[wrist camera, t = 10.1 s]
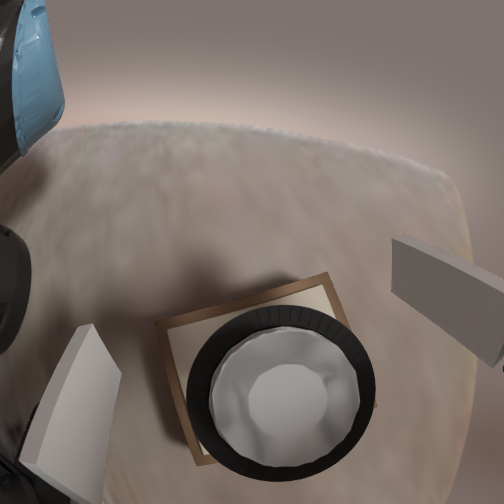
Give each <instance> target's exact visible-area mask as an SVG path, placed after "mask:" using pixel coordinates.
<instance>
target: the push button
mask: <svg viewBox="0 0 504 504" xmlns="http://www.w3.org/2000/svg"><path fill="white" fill-rule="evenodd" d="M375 391H376V387H375V377H374V372H373V368H372V364H371V361H370V359H369V357H368V354H367V352H366V351H365V349H364V347H363V345H362V344H361V343H360V341H359V340H358V338H357V337H356V336H355V335H354V334H353V333H352V332H351V331H350V330H349V329H348V328H347V327H346V326H345V325H343V324H342V323H341V322H339V321H338V320H336V319H335V318H333V317H331V316H329V315H328V314H325V313H323V312H321V311H318V310H315V309H312V308H308V307H303V306H297V305H271V306H266V307H261V308H257V309H254V310H250V311H248V312H245V313H243V314H241V315H239V316H237V317H235V318H233V319H231V320H230V321H228V322H227V323H225V324H224V325H223V326H221V327H220V328H219V329H218V330H216V331H215V332H214V333H213V334H212V335H211V336H210V337H209V339H208V340H207V341H206V342H205V343H204V345H203V346H202V348H201V349H200V351H199V352H198V354H197V356H196V358H195V360H194V362H193V364H192V367H191V370H190V373H189V377H188V381H187V388H186V405H187V412H188V416H189V420H190V423H191V426H192V428H193V430H194V432H195V435H196V437H197V438H198V440H199V441H200V443H201V444H202V446H203V447H204V448H205V449H206V451H207V452H208V453H209V454H210V455H211V456H212V457H213V458H214V459H215V460H217V461H218V462H219V463H221V464H222V465H223V466H225V467H227V468H228V469H230V470H232V471H234V472H236V473H238V474H240V475H243V476H246V477H249V478H252V479H256V480H262V481H270V482H284V481H293V480H299V479H303V478H306V477H310V476H313V475H315V474H318V473H320V472H322V471H324V470H326V469H328V468H330V467H331V466H333V465H334V464H336V463H337V462H338V461H340V460H341V459H342V458H343V457H345V456H346V455H347V454H348V453H349V452H350V451H351V450H352V449H353V447H354V446H355V445H356V444H357V443H358V441H359V440H360V438H361V437H362V435H363V434H364V432H365V430H366V428H367V426H368V424H369V421H370V419H371V416H372V412H373V408H374V403H375Z"/></svg>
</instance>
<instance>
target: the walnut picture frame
mask: <svg viewBox="0 0 504 504" xmlns="http://www.w3.org/2000/svg"><path fill="white" fill-rule="evenodd" d="M271 305H297V306H303V307H308V308H312V309H315V310H318V311H321V312H323V313H325V314H328V315H329V316H331V317H333V318H335V319H336V320H338V321H339V322H341V323H342V324H343V325H345V326H346V327H347V328H348V329H349V330H350V331H351V329H350V326H349V323H348V321H347V318H346V316H345V313H344V311H343V308H342V306H341V303H340V301H339V298H338V296H337V293H336V291H335V288H334V286H333V284H332V281H331V279H330V276H329V274H328V272H324V273H321V274H318V275H315V276H312V277H309V278H306V279H303V280H300V281H296V282H293V283H290V284H287V285H283V286H280V287H277V288H274V289H270V290H267V291H264V292H260V293H257V294H254V295H250V296H247V297H243V298H240V299H236V300H233V301H229V302H226V303H222V304H218V305H215V306H211V307H207V308H204V309H200V310H196V311H193V312H189V313H185V314H181V315H177V316H173V317H169V318H165V319H161V320H157V321H154V322H155V327H156V332H157V337H158V341H159V346H160V350H161V354H162V358H163V363H164V367H165V370H166V374H167V378H168V382H169V385H170V389H171V393H172V396H173V399H174V403H175V406H176V409H177V413H178V416H179V419H180V422H181V425H182V428H183V431H184V434H185V437H186V440H187V442H188V445H189V448H190V451H191V453H192V456H193V459H194V461H195V464H196V466H201V465H208V464H213V463H219V462H218V461H217V460H215V459H214V458H213V457H212V456H211V455H210V454H209V453H208V452H207V451H206V449H205V448H204V447H203V446H202V444H201V443H200V441H199V440H198V438H197V437H196V435H195V432H194V430H193V428H192V426H191V423H190V420H189V416H188V412H187V405H186V388H187V381H188V377H189V373H190V370H191V367H192V364H193V362H194V360H195V358H196V356H197V354H198V352H199V351H200V349H201V348H202V346H203V345H204V343H205V342H206V341H207V340H208V339H209V337H210V336H211V335H212V334H213V333H214V332H215V331H216V330H218V329H219V328H220V327H221V326H223V325H224V324H225V323H227V322H228V321H230V320H231V319H233V318H235V317H237V316H239V315H241V314H243V313H245V312H248V311H250V310H254V309H257V308H261V307H266V306H271ZM351 332H352V331H351ZM376 407H378V406H377V403H376V400H375V403H374V408H376ZM374 408H373V409H374Z"/></svg>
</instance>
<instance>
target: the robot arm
mask: <svg viewBox="0 0 504 504" xmlns="http://www.w3.org/2000/svg"><path fill="white" fill-rule="evenodd" d="M64 107H65V99H64V94H63V89H62V85H61V80H60V76H59V71H58V67H57V62H56V57H55V53H54V47H53V43H52V38H51V32H50V26H49V21H48V17H47V10H46V1H45V0H0V175H1V174H2V173H3V172H4V171H5V170H6V169H7V168H8V167H9V166H11V165H12V164H13V163H14V162H15V161H16V160H17V159H18V158H20V157H21V156H22V157H23V156H25V155H26V153H27V152H28V149H29V148H30V147H31V146H32V145H33V144H34V143H35V142H37V141H38V140H39V139H40V138H41V137H42V136H44V135H45V134H46V133H47V132H48V131H50V130H51V129H52V128H53V127H54V126H55V125H56V124H57V123H58V122H59V120H60V119H61V116H62V114H63V111H64ZM30 285H31V261H30V255H29V251H28V248H27V246H26V244H25V242H24V241H23V240H22V239H21V238H20V237H19V236H18V235H17V234H16V233H15V232H13V231H12V230H11V229H9V228H8V227H5V226H2V225H0V354H1V353H3V352H4V351H5V350H6V349H7V348H8V347H9V346H10V345H11V343H12V342H13V340H14V338H15V337H16V335H17V333H18V331H19V328H20V326H21V323H22V321H23V318H24V315H25V311H26V307H27V303H28V298H29V293H30ZM391 292H392V293H394V294H395V295H396V296H398V297H399V298H401V299H402V300H403V301H405V302H406V303H408V304H409V305H410V306H412V307H413V308H415V309H416V310H417V311H419V312H420V313H421V314H423V315H424V316H425V317H427V318H428V319H430V320H431V321H432V322H434V323H435V324H436V325H438V326H439V327H440V328H442V329H443V330H444V331H446V332H447V333H448V334H449V335H451V336H452V337H453V338H455V339H456V340H457V341H459V342H460V343H461V344H462V345H464V346H465V347H466V348H467V349H469V350H470V351H471V352H473V353H474V354H475V355H476V356H477V357H479V358H480V359H481V360H482V361H484V362H485V363H486V364H488V365H489V366H490V367H491V368H493V367H494V366H495V365H496V364H497V363H498V362H499V361H500V360H501V359H502V357H503V355H504V279H502V278H500V277H498V276H496V275H494V274H492V273H490V272H488V271H486V270H484V269H482V268H480V267H478V266H476V265H474V264H472V263H470V262H467V261H465V260H463V259H461V258H459V257H457V256H454V255H452V254H450V253H448V252H446V251H443V250H441V249H439V248H436V247H434V246H432V245H430V244H427V243H425V242H422V241H420V240H418V239H415V238H413V237H410V236H408V235H405V234H402V235H399V236H396V237H393V238H392V287H391ZM503 372H504V366H503ZM121 375H122V373H121V372H120V370H119V368H118V367H117V365H116V364H115V362H114V360H113V359H112V357H111V355H110V354H109V352H108V350H107V349H106V347H105V345H104V343H103V342H102V340H101V338H100V336H99V334H98V333H97V331H96V329H95V327H94V325H93V323H92V324H87V325H83V326H79V327H78V328H77V330H76V331H75V333H74V335H73V337H72V338H71V340H70V342H69V344H68V346H67V348H66V349H65V351H64V353H63V355H62V357H61V359H60V361H59V363H58V365H57V367H56V369H55V371H54V373H53V375H52V377H51V379H50V381H49V383H48V386H47V388H46V390H45V392H44V394H43V397H42V399H41V400H40V401H39V403H38V404H37V405H36V407H35V408H34V410H33V412H32V414H31V417H30V419H29V420H30V422H28V424H27V427H26V431H25V432H24V435H23V438H22V440H21V443H20V446H19V449H18V452H17V455H16V458H15V461H14V464H12V463H11V462H10V461H9V460H7V459H6V458H5V457H4V456H3V455H2V454H1V453H0V504H70V498H71V499H73V500H74V501H76V502H78V503H79V504H102V492H103V481H104V471H105V463H106V455H107V448H108V441H109V435H110V429H111V423H112V418H113V412H114V407H115V402H116V398H117V393H118V388H119V384H120V379H121Z"/></svg>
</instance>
